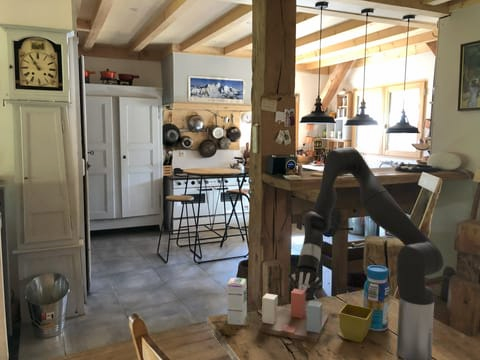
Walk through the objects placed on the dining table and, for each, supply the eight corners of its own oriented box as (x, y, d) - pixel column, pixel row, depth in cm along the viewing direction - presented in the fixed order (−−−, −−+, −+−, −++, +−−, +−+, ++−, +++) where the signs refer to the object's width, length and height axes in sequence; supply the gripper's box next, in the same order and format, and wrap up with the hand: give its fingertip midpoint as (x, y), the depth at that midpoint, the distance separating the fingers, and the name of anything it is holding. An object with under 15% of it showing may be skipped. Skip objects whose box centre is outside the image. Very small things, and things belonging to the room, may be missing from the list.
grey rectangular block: (321, 327, 134) (322, 302, 133) (319, 333, 130) (319, 307, 129) (309, 325, 136) (310, 300, 135) (306, 330, 132) (307, 305, 131)
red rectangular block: (305, 313, 144) (305, 290, 143) (302, 318, 141) (302, 294, 140) (293, 311, 146) (294, 288, 145) (290, 316, 142) (291, 292, 141)
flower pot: (372, 335, 133) (373, 308, 132) (366, 347, 125) (367, 319, 124) (345, 328, 137) (346, 302, 136) (337, 340, 130) (338, 312, 128)
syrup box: (243, 325, 139) (244, 284, 137) (226, 324, 140) (226, 282, 139) (247, 318, 145) (247, 278, 143) (230, 316, 146) (230, 276, 144)
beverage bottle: (357, 321, 142) (359, 265, 140) (378, 318, 144) (381, 263, 142) (371, 333, 134) (373, 273, 132) (393, 330, 136) (396, 271, 134)
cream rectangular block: (277, 319, 140) (277, 295, 139) (273, 324, 136) (273, 299, 135) (266, 317, 141) (266, 293, 140) (262, 322, 138) (262, 297, 137)
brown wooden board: (328, 318, 144) (328, 313, 144) (316, 343, 128) (316, 337, 128) (276, 309, 152) (276, 304, 151) (258, 331, 135) (259, 325, 135)
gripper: (290, 251, 155) (280, 295, 145) (326, 255, 150) (317, 301, 140) (294, 261, 160) (284, 303, 151) (328, 265, 155) (320, 309, 145)
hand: (300, 302), depth 145 cm, fingers closed
